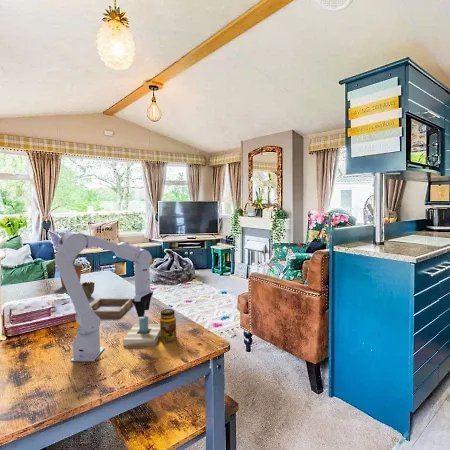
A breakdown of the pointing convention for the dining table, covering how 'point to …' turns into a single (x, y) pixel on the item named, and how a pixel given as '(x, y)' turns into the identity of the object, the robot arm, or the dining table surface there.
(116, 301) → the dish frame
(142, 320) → the peg
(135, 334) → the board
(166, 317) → the condiment
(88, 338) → the robot arm
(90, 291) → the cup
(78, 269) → the potted plant
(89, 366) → the dining table surface
